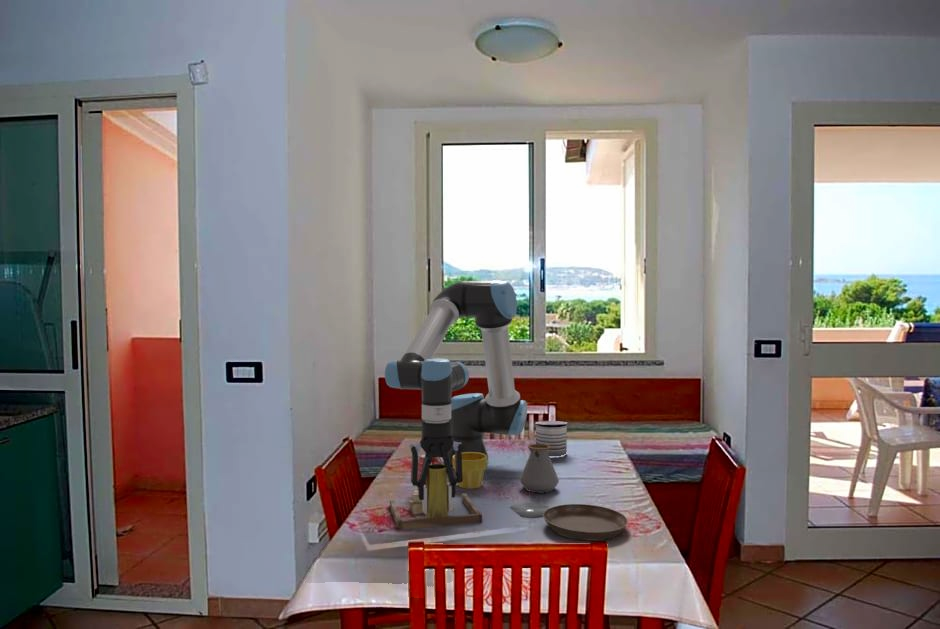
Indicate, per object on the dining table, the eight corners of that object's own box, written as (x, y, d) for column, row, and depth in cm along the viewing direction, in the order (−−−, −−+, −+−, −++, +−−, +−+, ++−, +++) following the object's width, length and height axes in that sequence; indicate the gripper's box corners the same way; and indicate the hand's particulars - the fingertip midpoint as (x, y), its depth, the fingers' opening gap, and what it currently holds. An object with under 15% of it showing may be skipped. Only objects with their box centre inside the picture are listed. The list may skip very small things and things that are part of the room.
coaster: (504, 505, 184) (504, 504, 184) (542, 502, 186) (542, 501, 186) (516, 518, 173) (516, 517, 173) (556, 515, 176) (556, 513, 176)
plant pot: (445, 489, 199) (445, 456, 199) (467, 481, 207) (467, 450, 206) (471, 496, 192) (471, 462, 192) (494, 487, 200) (494, 455, 200)
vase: (424, 518, 173) (424, 463, 173) (448, 517, 174) (448, 462, 173) (425, 526, 167) (424, 469, 166) (449, 525, 168) (449, 469, 167)
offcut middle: (409, 508, 178) (409, 500, 178) (444, 503, 182) (444, 495, 182) (415, 513, 174) (415, 505, 174) (450, 507, 178) (450, 500, 178)
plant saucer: (610, 513, 178) (610, 501, 178) (640, 543, 157) (640, 529, 157) (534, 517, 175) (534, 504, 175) (555, 547, 155) (555, 533, 155)
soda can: (445, 494, 194) (445, 453, 193) (436, 501, 187) (436, 459, 187) (423, 491, 196) (422, 451, 196) (413, 499, 189) (413, 456, 189)
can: (533, 457, 236) (533, 423, 236) (537, 450, 247) (537, 417, 247) (565, 459, 234) (566, 425, 233) (568, 451, 245) (568, 419, 244)
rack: (389, 510, 180) (389, 498, 180) (465, 504, 185) (465, 493, 185) (398, 533, 162) (398, 521, 162) (482, 526, 167) (482, 514, 167)
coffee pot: (521, 482, 205) (521, 434, 205) (559, 484, 204) (559, 435, 203) (514, 504, 184) (515, 450, 184) (557, 507, 183) (557, 452, 182)
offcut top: (414, 497, 180) (414, 490, 180) (448, 498, 180) (448, 491, 180) (412, 502, 176) (412, 494, 176) (446, 502, 176) (446, 495, 176)
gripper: (402, 425, 163) (402, 518, 164) (476, 421, 168) (476, 512, 169) (398, 419, 171) (398, 509, 172) (469, 415, 175) (469, 503, 176)
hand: (436, 510), depth 170 cm, fingers closed on vase, 6 cm apart
